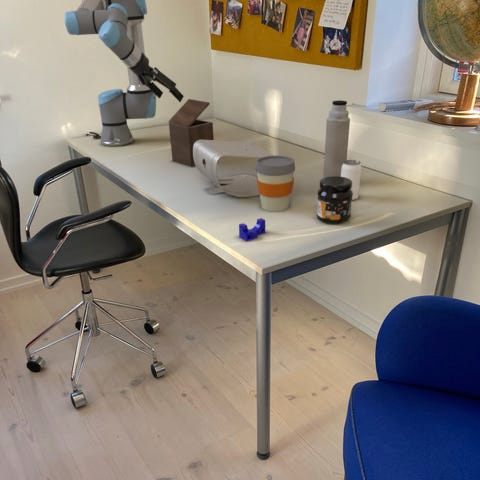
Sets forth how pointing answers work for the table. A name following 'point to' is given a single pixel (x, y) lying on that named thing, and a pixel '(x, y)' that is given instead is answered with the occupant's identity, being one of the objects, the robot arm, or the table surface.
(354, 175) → the can
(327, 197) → the supplement container
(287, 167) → the reusable coffee cup
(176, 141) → the chest
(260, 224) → the cable holder
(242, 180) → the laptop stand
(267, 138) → the table surface
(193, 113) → the lid
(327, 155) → the thermos bottle
